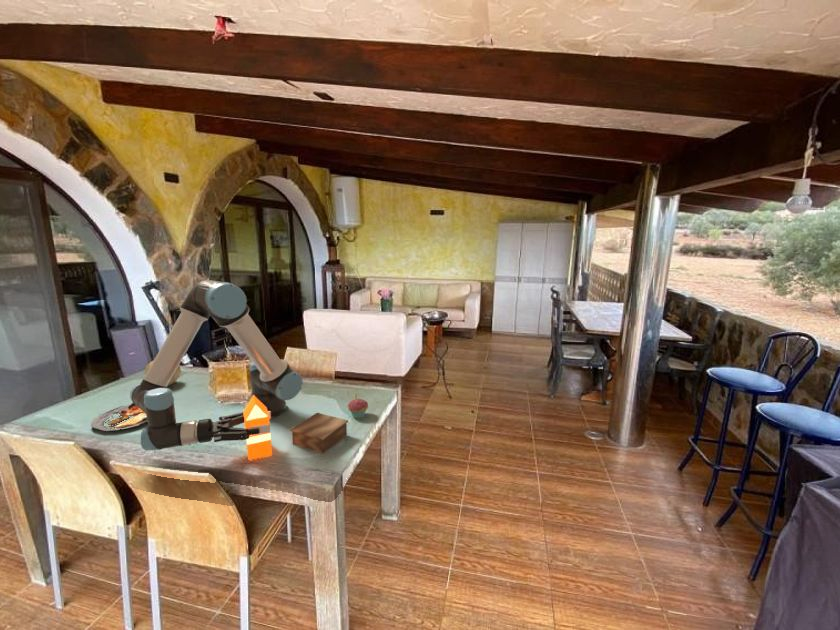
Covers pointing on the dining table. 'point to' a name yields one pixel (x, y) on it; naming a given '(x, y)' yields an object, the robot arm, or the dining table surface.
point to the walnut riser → (319, 432)
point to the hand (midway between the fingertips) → (270, 421)
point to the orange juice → (253, 417)
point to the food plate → (121, 418)
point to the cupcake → (357, 407)
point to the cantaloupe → (174, 377)
